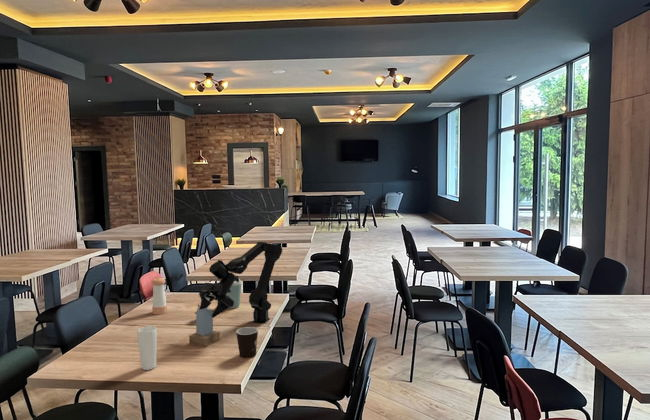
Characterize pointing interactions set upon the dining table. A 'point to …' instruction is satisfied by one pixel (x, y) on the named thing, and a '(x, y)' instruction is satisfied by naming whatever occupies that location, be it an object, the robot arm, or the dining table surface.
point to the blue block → (204, 321)
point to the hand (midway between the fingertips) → (205, 315)
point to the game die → (199, 308)
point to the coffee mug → (247, 341)
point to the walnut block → (204, 339)
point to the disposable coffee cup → (235, 293)
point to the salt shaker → (159, 296)
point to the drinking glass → (147, 346)
